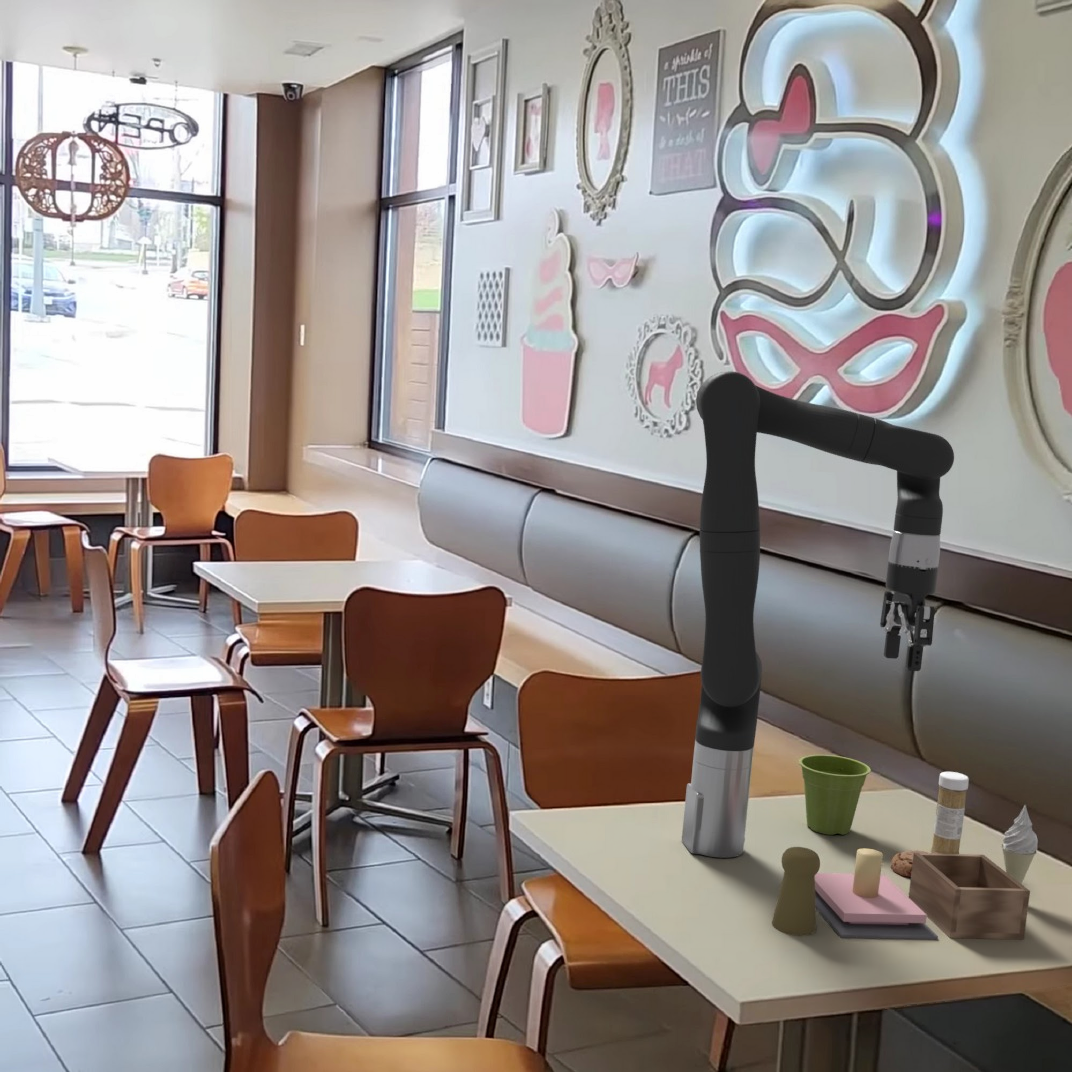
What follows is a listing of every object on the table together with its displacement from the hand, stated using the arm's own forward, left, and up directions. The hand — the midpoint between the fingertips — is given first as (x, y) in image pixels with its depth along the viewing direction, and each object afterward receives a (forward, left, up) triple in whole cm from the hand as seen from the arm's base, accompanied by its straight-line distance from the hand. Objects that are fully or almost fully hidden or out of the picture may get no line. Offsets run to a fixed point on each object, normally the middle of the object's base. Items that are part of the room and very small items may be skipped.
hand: (901, 664), depth 216 cm
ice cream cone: (+15, -15, -32) cm, 39 cm away
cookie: (+6, -4, -33) cm, 33 cm away
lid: (-11, -20, -32) cm, 39 cm away
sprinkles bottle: (+13, +4, -32) cm, 35 cm away
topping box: (+4, -22, -32) cm, 39 cm away
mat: (-11, -20, -32) cm, 39 cm away
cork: (-23, -26, -32) cm, 47 cm away
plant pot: (-3, +15, -32) cm, 36 cm away
